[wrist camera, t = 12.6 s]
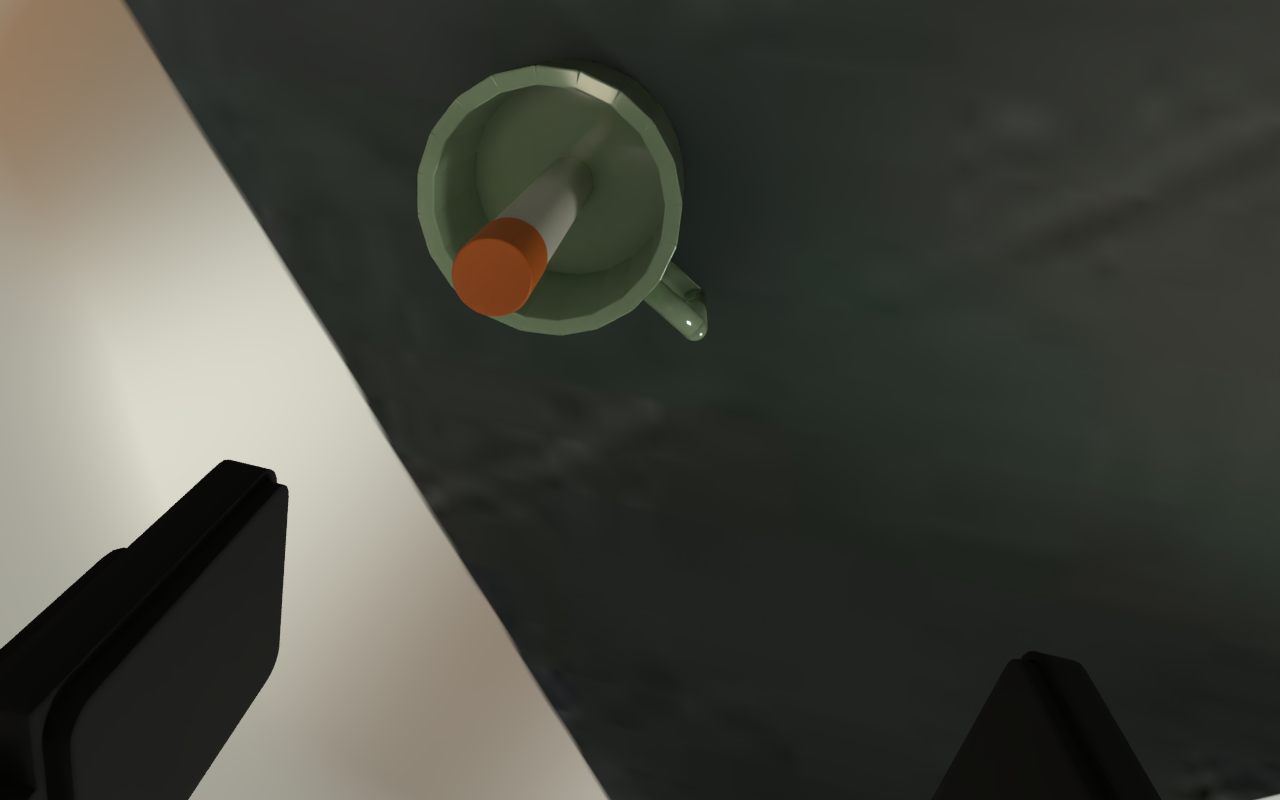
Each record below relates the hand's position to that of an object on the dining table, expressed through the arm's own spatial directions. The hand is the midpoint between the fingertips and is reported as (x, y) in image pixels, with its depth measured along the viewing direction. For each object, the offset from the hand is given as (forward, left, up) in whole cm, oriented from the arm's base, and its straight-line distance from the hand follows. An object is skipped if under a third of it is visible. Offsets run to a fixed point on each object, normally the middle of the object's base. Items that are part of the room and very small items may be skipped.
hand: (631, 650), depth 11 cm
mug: (0, -3, -27) cm, 28 cm away
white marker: (0, -5, -27) cm, 27 cm away
